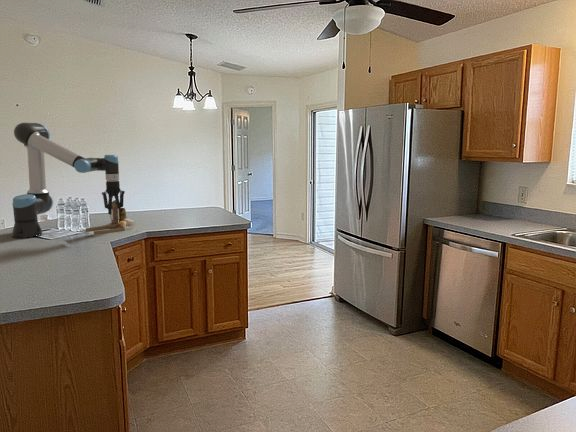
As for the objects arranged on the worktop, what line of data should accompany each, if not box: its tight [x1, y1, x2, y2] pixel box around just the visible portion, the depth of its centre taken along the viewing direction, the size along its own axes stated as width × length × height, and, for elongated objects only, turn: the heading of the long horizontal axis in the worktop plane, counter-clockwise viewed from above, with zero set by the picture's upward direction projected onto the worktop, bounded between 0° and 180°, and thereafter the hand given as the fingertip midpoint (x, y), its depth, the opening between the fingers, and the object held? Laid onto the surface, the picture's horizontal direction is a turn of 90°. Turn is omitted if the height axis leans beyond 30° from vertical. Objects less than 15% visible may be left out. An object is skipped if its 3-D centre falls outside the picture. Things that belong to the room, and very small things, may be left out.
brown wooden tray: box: [85, 218, 138, 237], centre depth 268 cm, size 25×17×6 cm
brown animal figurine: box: [112, 199, 128, 222], centre depth 287 cm, size 9×14×18 cm, turn 2°
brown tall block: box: [108, 204, 121, 229], centre depth 268 cm, size 4×7×16 cm, turn 44°
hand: (114, 219), depth 269 cm, fingers closed on brown tall block, 3 cm apart
